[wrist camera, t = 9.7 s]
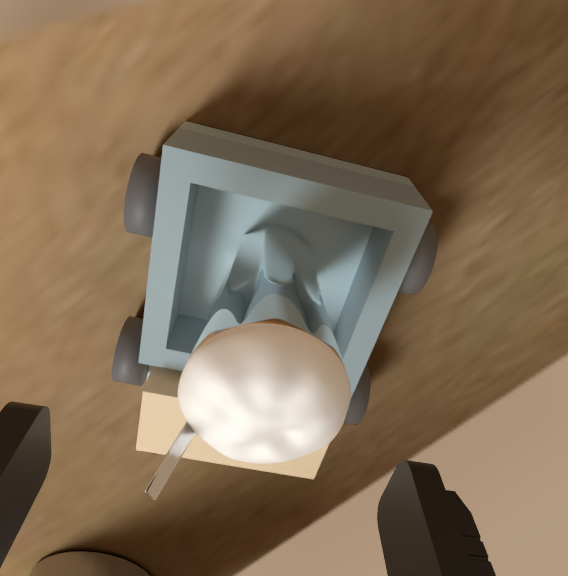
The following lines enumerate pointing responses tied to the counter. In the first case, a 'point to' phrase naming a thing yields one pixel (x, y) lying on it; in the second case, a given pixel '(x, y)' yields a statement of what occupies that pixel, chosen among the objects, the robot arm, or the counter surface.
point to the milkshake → (263, 361)
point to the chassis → (224, 240)
